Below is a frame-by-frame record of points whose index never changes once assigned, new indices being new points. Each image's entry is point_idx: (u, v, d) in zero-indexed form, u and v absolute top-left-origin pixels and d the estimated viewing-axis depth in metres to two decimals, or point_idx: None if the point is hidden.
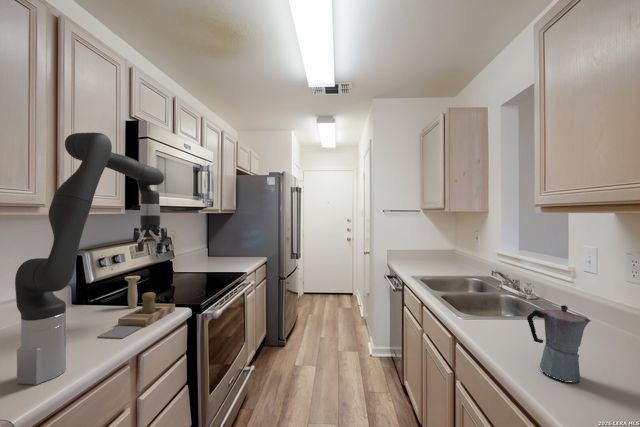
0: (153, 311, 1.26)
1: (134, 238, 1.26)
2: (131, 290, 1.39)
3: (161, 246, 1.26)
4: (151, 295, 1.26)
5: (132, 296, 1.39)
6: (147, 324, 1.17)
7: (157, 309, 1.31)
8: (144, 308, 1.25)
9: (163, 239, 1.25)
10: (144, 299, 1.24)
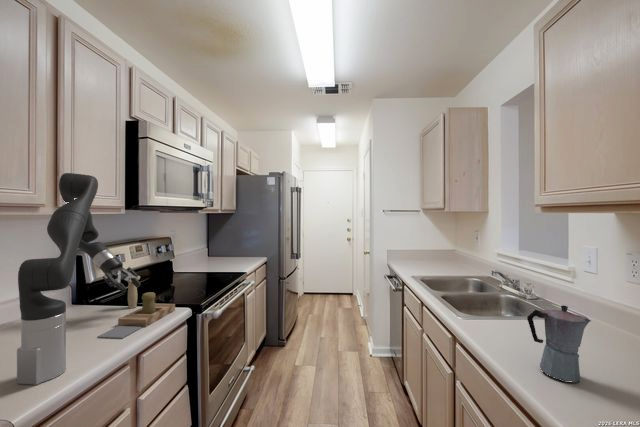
0: (153, 311, 1.26)
1: (113, 280, 1.21)
2: (131, 290, 1.39)
3: None
4: (151, 295, 1.26)
5: (132, 296, 1.39)
6: (147, 324, 1.17)
7: (157, 309, 1.31)
8: (144, 308, 1.25)
9: (136, 274, 1.35)
10: (144, 299, 1.24)
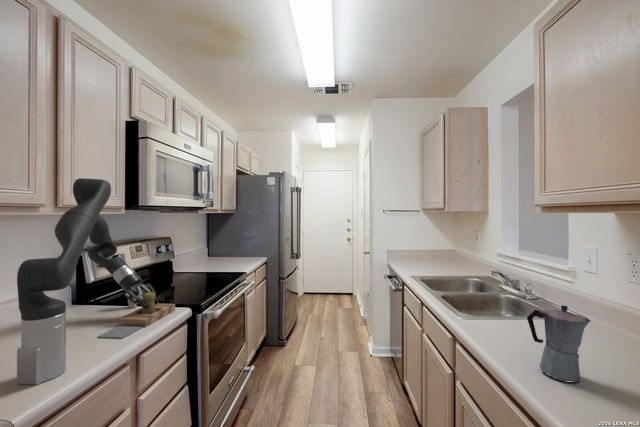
0: (153, 311, 1.26)
1: (137, 297, 1.22)
2: None
3: None
4: (151, 295, 1.26)
5: None
6: (147, 324, 1.17)
7: (157, 309, 1.31)
8: (144, 308, 1.25)
9: (154, 291, 1.32)
10: (144, 299, 1.24)
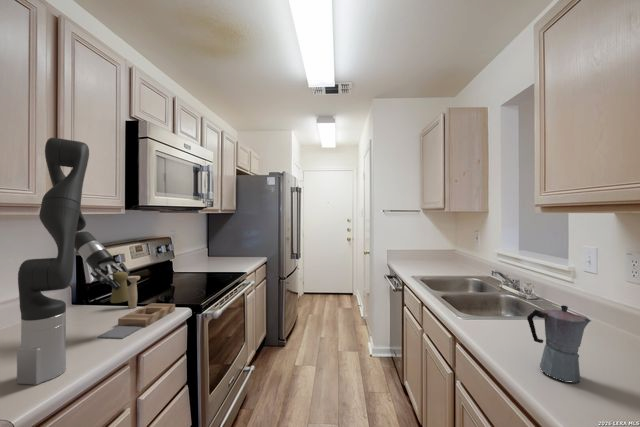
0: (125, 293, 1.10)
1: (105, 276, 1.06)
2: (131, 290, 1.39)
3: None
4: (122, 274, 1.10)
5: (132, 296, 1.39)
6: (147, 324, 1.17)
7: (157, 309, 1.31)
8: (114, 289, 1.09)
9: (127, 271, 1.16)
10: (114, 279, 1.08)
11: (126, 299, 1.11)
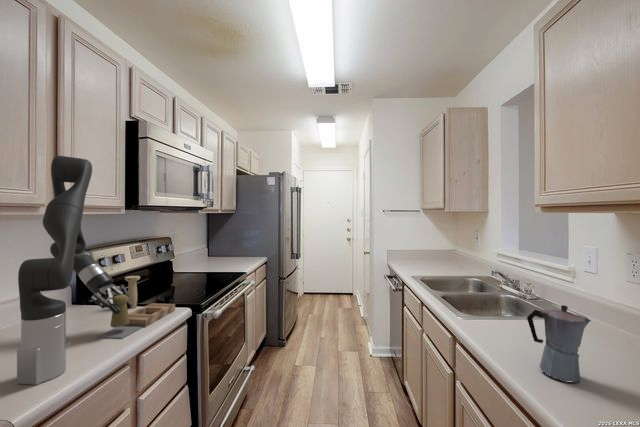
0: (125, 316, 1.10)
1: (106, 301, 1.06)
2: (131, 290, 1.39)
3: None
4: (122, 298, 1.10)
5: (132, 296, 1.39)
6: (147, 324, 1.17)
7: (157, 309, 1.31)
8: None
9: (128, 294, 1.17)
10: (114, 303, 1.09)
11: (127, 322, 1.11)
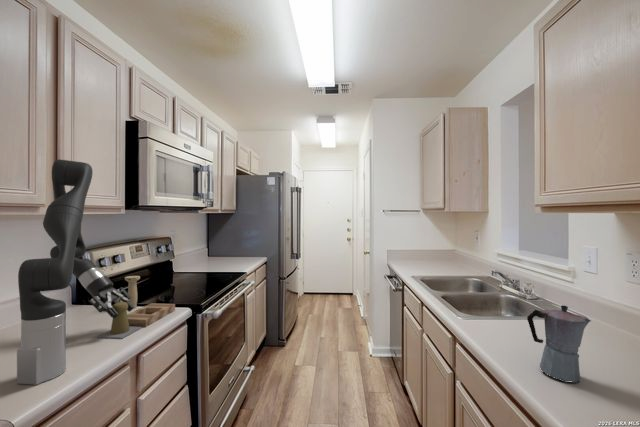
0: (125, 324, 1.10)
1: (103, 305, 1.05)
2: (131, 290, 1.39)
3: None
4: (123, 306, 1.10)
5: (132, 296, 1.39)
6: (147, 324, 1.17)
7: (157, 309, 1.31)
8: (114, 321, 1.09)
9: (129, 296, 1.17)
10: None
11: (127, 330, 1.11)
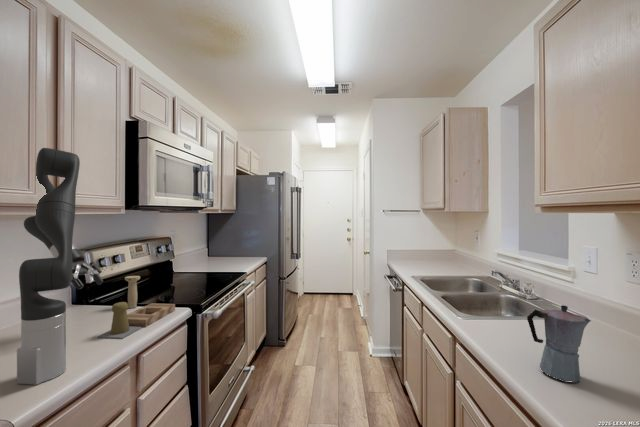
0: (125, 324, 1.10)
1: None
2: (131, 290, 1.39)
3: None
4: (123, 306, 1.10)
5: (132, 296, 1.39)
6: (147, 324, 1.17)
7: (157, 309, 1.31)
8: (114, 321, 1.09)
9: (100, 270, 1.19)
10: (114, 311, 1.09)
11: (127, 330, 1.11)
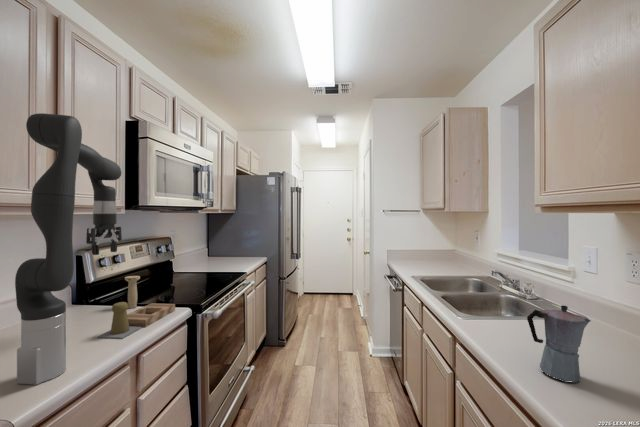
0: (125, 324, 1.10)
1: (93, 240, 1.08)
2: (131, 290, 1.39)
3: None
4: (123, 306, 1.10)
5: (132, 295, 1.39)
6: (147, 324, 1.17)
7: (157, 309, 1.31)
8: (114, 321, 1.09)
9: (120, 238, 1.21)
10: (114, 311, 1.09)
11: (127, 330, 1.11)
